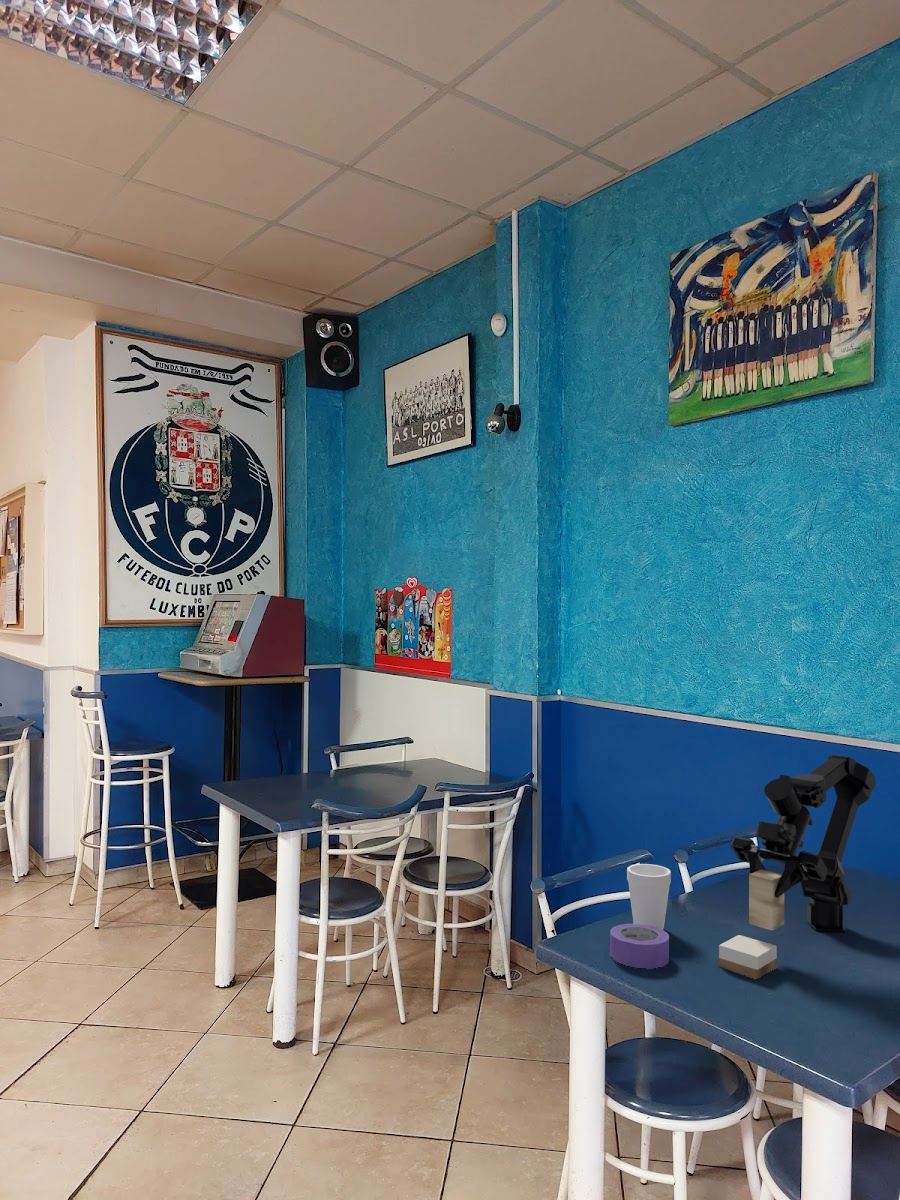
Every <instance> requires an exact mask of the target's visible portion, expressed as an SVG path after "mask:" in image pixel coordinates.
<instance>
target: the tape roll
mask: <svg viewBox="0 0 900 1200" xmlns="http://www.w3.org/2000/svg"><path fill="white" fill-rule="evenodd" d="M609 937H610V938H609V939H610V941H609V943H610V945H609V957H610V956H611V957H612V958H613V959H614V960H616V961H618V962H619V963H622V964H625V965H628V966H632V967H638V968H646V969H645V970H654V968H656V969H659V968H658V967H660V968H662V967H665V966H666V964H667V965H668V963H669V962H670V934H669V933H668V932H667V931H665V930H664V929H663V930H662V929H659V928H657V927H653V926H649V925H643V924H634V923H623V924H618V925H616V926H613V927H612V928H611V929H610V932H609ZM611 957H610V958H611ZM612 958H611V959H612ZM613 959H612V960H613ZM614 960H613V961H614ZM619 963H618V964H619Z"/></svg>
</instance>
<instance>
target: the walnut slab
mask: <svg viewBox="0 0 900 1200" xmlns="http://www.w3.org/2000/svg"><path fill="white" fill-rule="evenodd" d="M718 967H719V968H722V969H723V970H724V969H725V970H727V971H729V972H734V973H735V974H738V973H739V975H742V976H744V975H745V977H747V978H750V979H752V978H753V980H755V979H756V980H757V979H758V980H759V979H760V978H761V976H762V977H764V976H765V974H766V973H767V974H769V973H771V972H772V970H773V971H775V970H777V969H778V958H777V959H775V960H773V961H772V962H770V963H768V964H767V965H765V966H763V967H762V968H760V969H758V970H756V969H753V968H750V967H746V966H743V965H740V964H737V963H734V962H731V961H728V960H724V959H721V958H719V957H718ZM776 968H777V969H776ZM774 969H775V970H774ZM770 971H771V972H770ZM768 972H769V973H768ZM767 974H766V975H767ZM763 975H764V976H763Z"/></svg>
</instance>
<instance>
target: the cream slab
mask: <svg viewBox="0 0 900 1200" xmlns="http://www.w3.org/2000/svg"><path fill="white" fill-rule="evenodd" d="M777 949H778V948H777V945H776V944H775V945H774V944H772V943H768V942H765V941H760V940H758V939H753V938H751V937H748V936H744V935H740V934H738V935H736V936H734V937H732V938H730V939H729V940H726V941H724V942H723V943H721V944H718V959H719V958H721V959H724V960H728V961H731V962H734V963H737V964H740V965H743V966H746V967H750V968H753V969H756V970H758V969H760V968H762V967H763V966H765V965H767V964H768V963H770V962H772V961H773V960H775V959H777V960H778V958H777V954H778V951H777Z"/></svg>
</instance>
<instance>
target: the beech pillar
mask: <svg viewBox="0 0 900 1200" xmlns="http://www.w3.org/2000/svg"><path fill="white" fill-rule="evenodd" d="M782 874H783V873H782ZM782 874H781V873H777V872H774V871H773V872H772V871H769V870H766V869H765V870H759V871H757V872H754V873H751V874H750V873H748V875H749V876H748V924H749V925H752V926H756V927H758V928H761V929H764V930H765V929H766V930H769V931H774V930H776V929H778V928H780V927H782V926H784V925H785V893H783V894H782V895H781V896H780V897H778V898H777V897H775V891H776V887H777V885H778V883H779V881H780V878H781V876H782Z"/></svg>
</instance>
